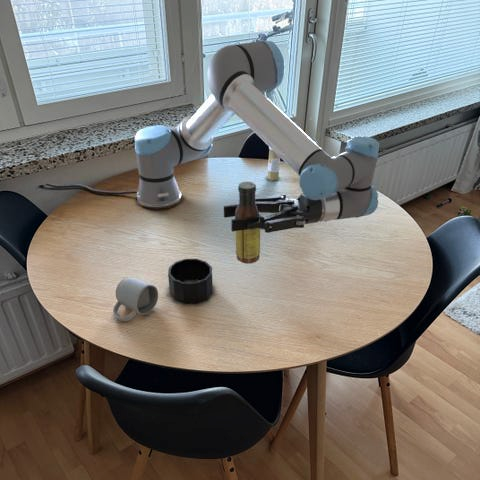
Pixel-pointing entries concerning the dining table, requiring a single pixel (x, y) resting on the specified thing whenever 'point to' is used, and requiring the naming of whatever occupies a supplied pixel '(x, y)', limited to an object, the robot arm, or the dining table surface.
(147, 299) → the ceramic mug
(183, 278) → the cup
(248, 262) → the sauce bottle
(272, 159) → the sprinkles bottle
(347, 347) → the dining table surface
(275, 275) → the dining table surface
